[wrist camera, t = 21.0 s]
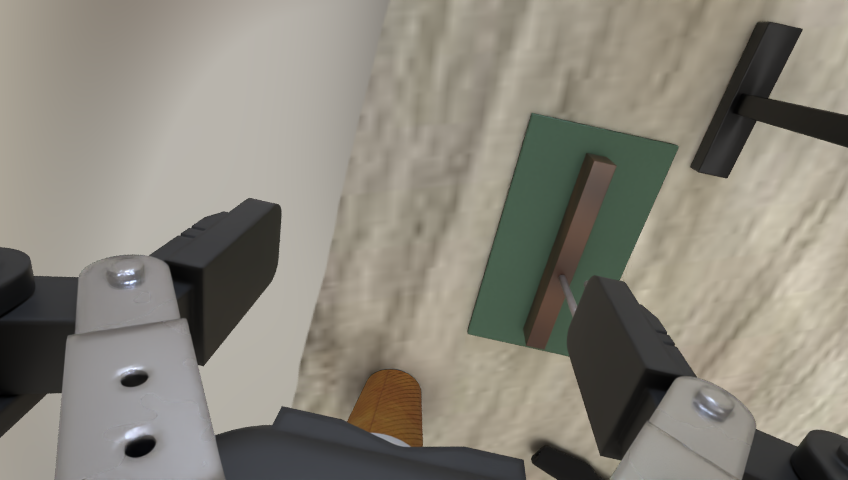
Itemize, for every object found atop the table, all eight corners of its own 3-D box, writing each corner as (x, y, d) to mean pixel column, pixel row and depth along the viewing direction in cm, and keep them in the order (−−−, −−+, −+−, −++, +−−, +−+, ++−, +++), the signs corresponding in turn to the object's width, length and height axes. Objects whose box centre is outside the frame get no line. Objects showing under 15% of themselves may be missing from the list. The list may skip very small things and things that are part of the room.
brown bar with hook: (586, 152, 37) (623, 190, 28) (607, 157, 37) (652, 196, 28) (522, 329, 45) (536, 403, 36) (540, 333, 45) (558, 408, 36)
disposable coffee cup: (419, 433, 52) (406, 538, 42) (341, 407, 52) (307, 506, 41) (448, 374, 48) (442, 472, 38) (364, 345, 48) (333, 436, 37)
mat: (531, 112, 37) (532, 113, 36) (676, 144, 37) (679, 146, 36) (467, 330, 46) (467, 334, 45) (583, 356, 46) (584, 360, 45)
